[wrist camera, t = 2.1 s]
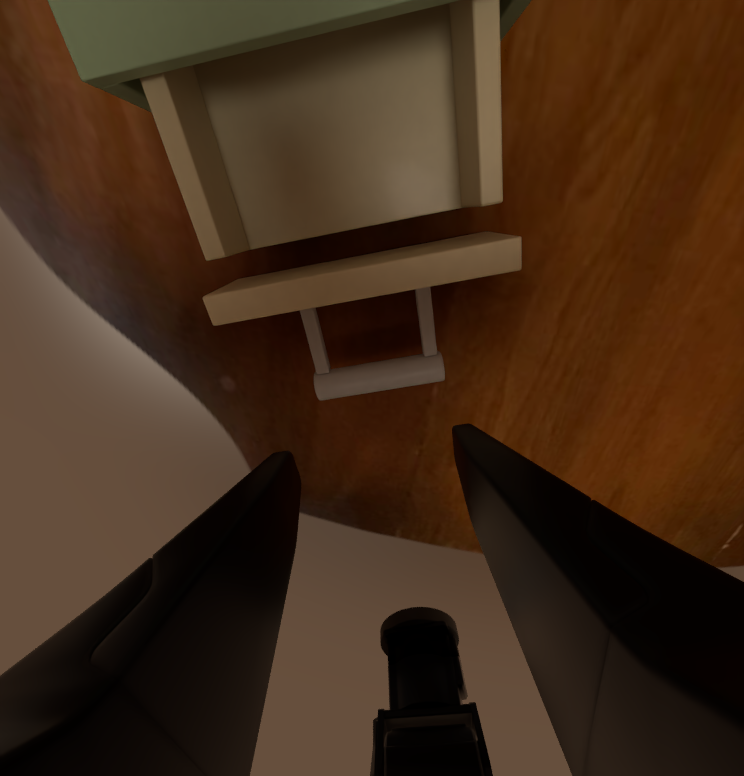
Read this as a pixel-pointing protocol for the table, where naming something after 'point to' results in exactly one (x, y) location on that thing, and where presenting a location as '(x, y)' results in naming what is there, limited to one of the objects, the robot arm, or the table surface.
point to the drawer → (344, 167)
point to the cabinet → (206, 31)
